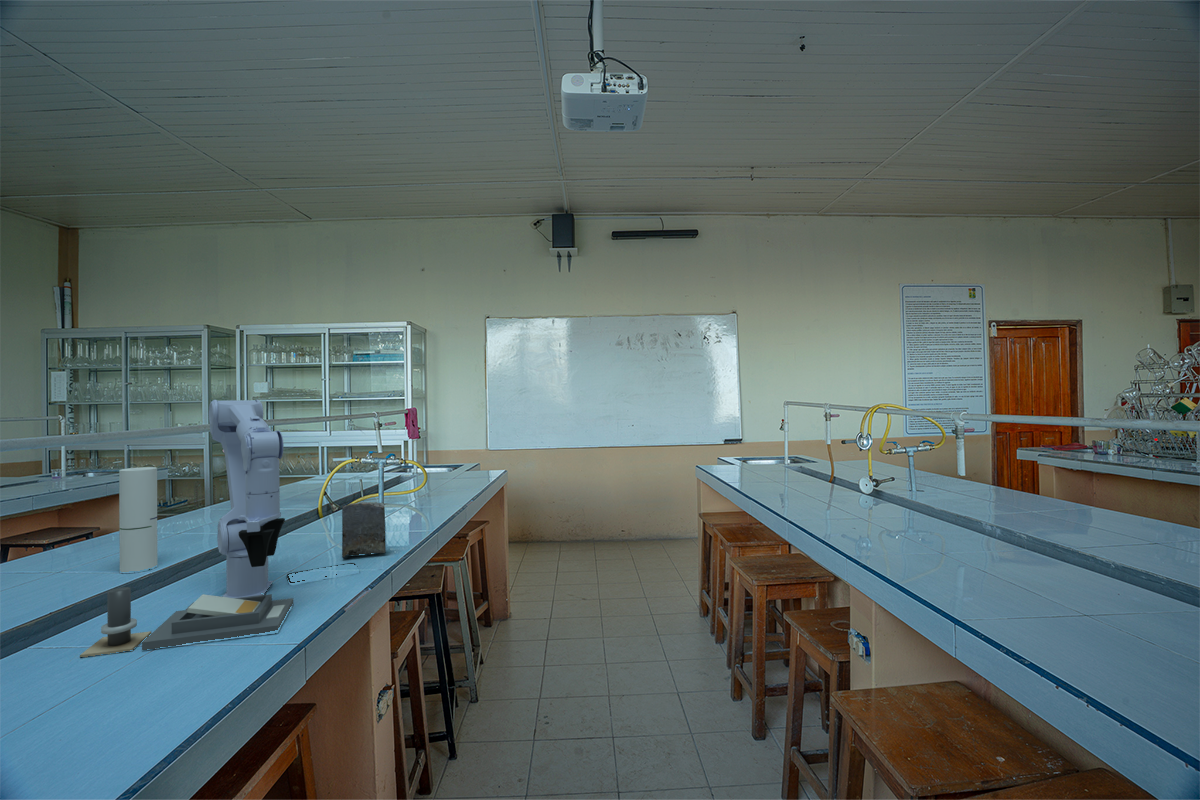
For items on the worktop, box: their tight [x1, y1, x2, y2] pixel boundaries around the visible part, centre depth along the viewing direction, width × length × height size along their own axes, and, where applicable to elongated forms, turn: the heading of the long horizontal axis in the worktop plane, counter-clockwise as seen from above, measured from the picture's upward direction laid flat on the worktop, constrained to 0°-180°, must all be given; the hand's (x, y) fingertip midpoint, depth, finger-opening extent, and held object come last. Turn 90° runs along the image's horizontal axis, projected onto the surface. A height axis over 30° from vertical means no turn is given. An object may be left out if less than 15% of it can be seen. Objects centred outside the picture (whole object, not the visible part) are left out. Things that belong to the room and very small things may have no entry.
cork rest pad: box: [79, 630, 152, 658], centre depth 92 cm, size 7×7×1 cm
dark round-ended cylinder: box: [100, 586, 138, 646], centre depth 92 cm, size 5×5×9 cm
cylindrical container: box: [118, 466, 158, 572], centre depth 133 cm, size 7×7×25 cm
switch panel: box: [141, 593, 294, 651], centre depth 100 cm, size 14×20×4 cm
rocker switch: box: [187, 594, 261, 616], centre depth 100 cm, size 7×10×1 cm
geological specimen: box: [341, 501, 387, 558], centre depth 144 cm, size 11×6×15 cm, turn 114°
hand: (263, 560), depth 106 cm, fingers open, 7 cm apart
